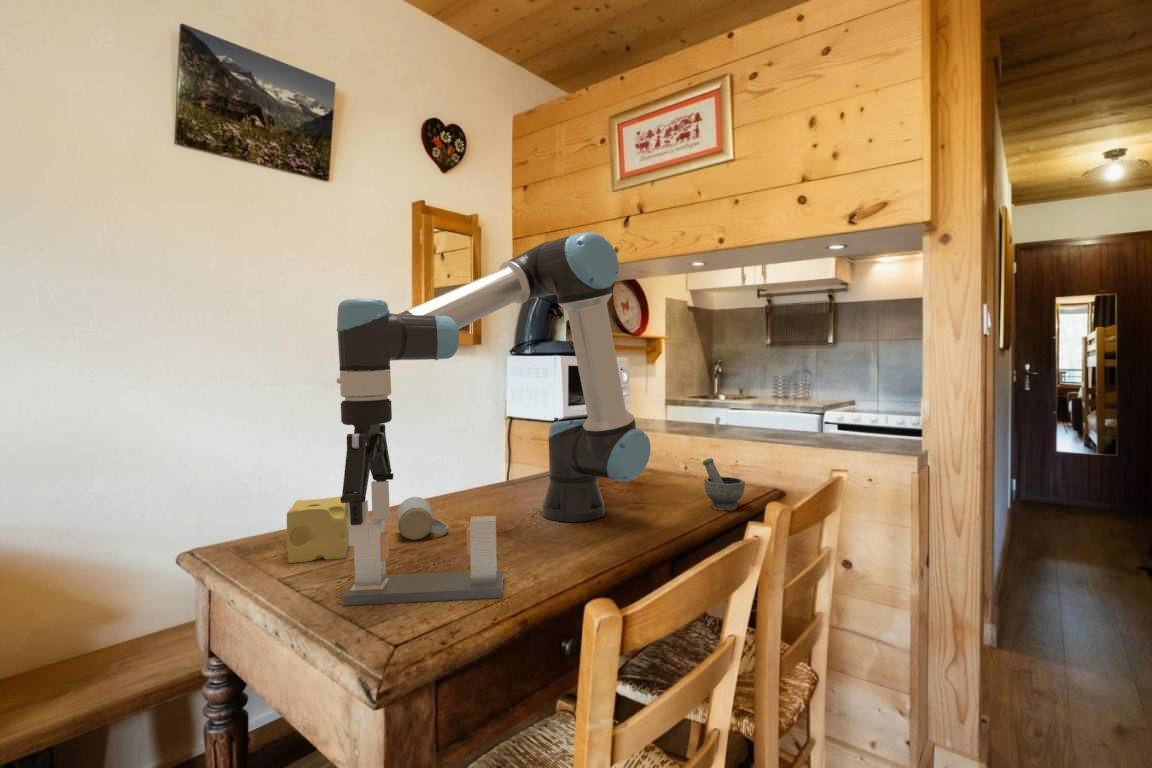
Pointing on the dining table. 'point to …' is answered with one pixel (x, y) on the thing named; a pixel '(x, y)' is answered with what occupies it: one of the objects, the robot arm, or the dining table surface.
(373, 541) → the loose carton
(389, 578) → the rail
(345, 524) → the cheese
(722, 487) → the mortar and pestle
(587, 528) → the dining table surface
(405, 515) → the ceramic mug
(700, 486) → the dining table surface
